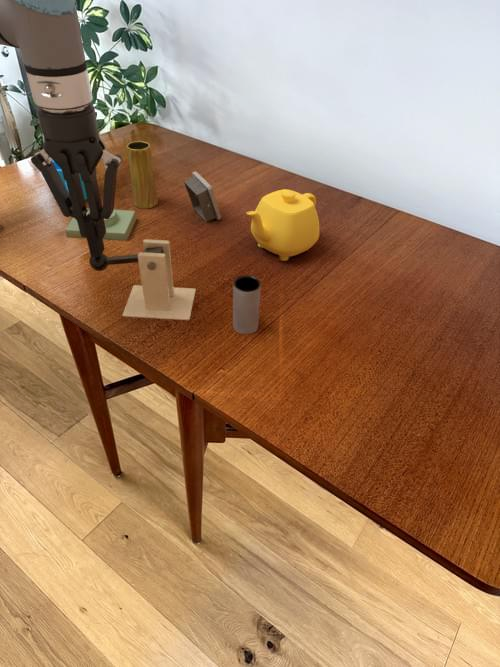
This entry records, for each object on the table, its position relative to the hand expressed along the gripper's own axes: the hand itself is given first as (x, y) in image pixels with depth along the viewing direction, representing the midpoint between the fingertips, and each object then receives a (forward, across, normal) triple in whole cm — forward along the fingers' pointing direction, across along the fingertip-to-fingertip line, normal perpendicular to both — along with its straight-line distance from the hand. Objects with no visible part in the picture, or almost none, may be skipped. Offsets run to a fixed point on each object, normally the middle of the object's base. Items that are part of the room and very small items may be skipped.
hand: (97, 252), depth 78 cm
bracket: (+11, +10, 0) cm, 15 cm away
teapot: (+11, +32, +22) cm, 40 cm away
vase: (+11, -1, +39) cm, 41 cm away
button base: (+11, -8, +26) cm, 30 cm away
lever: (+3, +5, 0) cm, 6 cm away
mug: (+11, -19, +39) cm, 45 cm away
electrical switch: (+11, +14, +35) cm, 39 cm away
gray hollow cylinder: (+12, +26, -5) cm, 28 cm away
